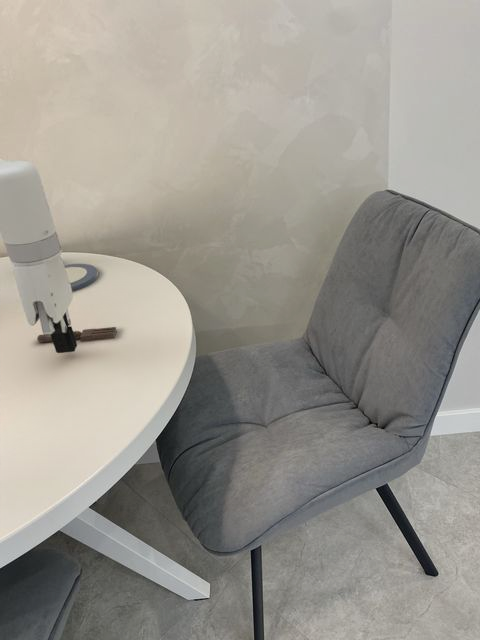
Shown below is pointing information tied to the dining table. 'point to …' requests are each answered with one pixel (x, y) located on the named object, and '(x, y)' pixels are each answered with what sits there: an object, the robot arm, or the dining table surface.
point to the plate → (81, 275)
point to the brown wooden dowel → (86, 334)
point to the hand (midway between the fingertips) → (67, 349)
